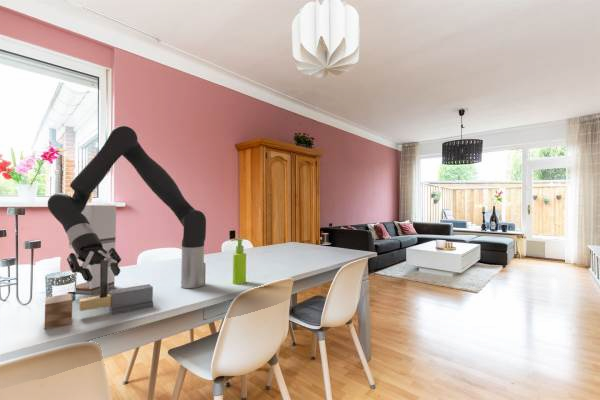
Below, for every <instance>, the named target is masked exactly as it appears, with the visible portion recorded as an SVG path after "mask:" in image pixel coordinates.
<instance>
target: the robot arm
mask: <svg viewBox="0 0 600 400" xmlns="http://www.w3.org/2000/svg"><path fill="white" fill-rule="evenodd" d="M122 156H123V158H124V159H126V160H127V161H128V162H129V163H130V164H131V165H132V167H133V168H134V169H135V170H136V172H137V174H138V175H139V176H140V178H141V179H142V180H143V182H144V183H145V184H146V185H147V186H148V188H149V189H150V190H151V191H152V192H153V193H154V194H155V196H156V197H158V199H159V200H161V201H162V202H163V203H164V204H165V205H166V206H167V207H168V208H169V209H170V210H171V211H172V213H174V215H175V216H176V218H177V220H179V222H180V224H181V225H182V227H183V234H182V235H183V236H182V240H181V269H180V270H181V271H180V272H181V273H180V277H181V279H180V285H181V288H183V289H197V288H201V287H202V286H206V273H207V271H206V267H207V265H206V262H205V241H206V235H207V219H206V215H205V214H204V212H202V211H201V210H198V209H195V208H194V207H193V206H192V205H191V204H190V203H189V201H187V199H186V198H185V197H184V196H183V194H182V191H181V190H180V188H179V186H178V184H177V183H176V181H175V180H174V179H173V178H172V177H171V175H170V174H169V173H168V172H167V170H166V169H165V168H163V167H162V166H161V165H160V164H159V163H157V162H156V161H155V160H154V159H153V158H152V157H150V155H148V153H147V152H146V151H145V150H144V149H143V147H142V145H141V144H140V142H139V141H138V134H137V133H136V131H135V130H134V129H133V128H131V127H129V126H126V125H119V126H118V125H117V126H115V127H114V128H113V129H112V130H111V131H110V134H109V136H108V138H107V139H106V140H105V142H104V144H103V146H102V147H101V148H100V149H99V151H98V152H97V153H96V155H95V156H94V157H93V158H92V159H91V160H90V161H89V162H88V164H87V165H85V167H84V168H83V169H82V170H81V171H80V172H79V173H78V174H77V175H76V176H75V178H74V179H73V180H72V181H71V182H70V184H69V186H70V188H71V189H72V190H73V194H72V196H71V195H68V194H66V193H64V192H63V193H62V192H57V193H54V194H52V195H51V196H50V197H48V200H47V209H48V210H49V212H50V213H51V214H52V216H53V217H54V218H55V219H56V220H57V221H58V222H59V223H60V224H61V226H62V228H63V230H64V232H65V233H66V235H67V238H68V241H70V243H71V245H72V247H73V248H72V249H73V251H74V252H75V253H74V252H71V253H69V255H68V256H67V258H66V261H67V263H68V266H69V268H70V270H71V272H72V274H75V273H79V274H80V275H81V277H82V278H83V280H84V281H85V282H90V281H91V280H92V278H93V277H92V275H91V273H90V271H89V269H88V268H87V266H88V264H89V265H94V264H100V261H102V260H104V259H105V258H106V259H107V260H108V266H109V267H111V270H112V272H113V274H114V275H115V277H117V276H119V274H120V273H121V269H120V267H119V264H120V263H121V261H122V258H121V256H120V255H119V254H118V252H117V250H116V248H115V249H114V248H111V249H110V250H104V249H103V246H102V243H101V241H100V239H99V238H98V236H97V234H96V232H95V231H94V229H93V228H92V227H91V225H90V223H89V222H88V220H87V218H86V217H85V216H84V215H83V214H82V213H81V212H82V211H83V210H84V208H85V206H86V205H87V204H88V202H89V200H90V197H91V195H92V193H93V192H94V191H95V190H96V189H97V188H98V186H99V185H101V183H102V181H103V180H104V178H105V177H106V176H107V174H108V173H109V172H110V170H111V168H112V167H113V166H114V164H115V163H116V162H117V161H118V159H120V158H121V157H122ZM78 260H79V261H80V260H81V261H83V264H82V266H80V262H79V261H78ZM109 261H110V262H111V263H110V262H109Z"/></svg>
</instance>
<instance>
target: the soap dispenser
mask: <svg viewBox="0 0 600 400" xmlns="http://www.w3.org/2000/svg"><path fill="white" fill-rule="evenodd" d="M230 241H231V242H235V241H236V242H237V246H236V247H235V253H233V254H232V284H233V283H235V284H234V285H242V284H241V283H244V284H246V283H247V253H245V252H244V245H243V241H244V238H233V239H231V240H230ZM245 282H246V283H245Z"/></svg>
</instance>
